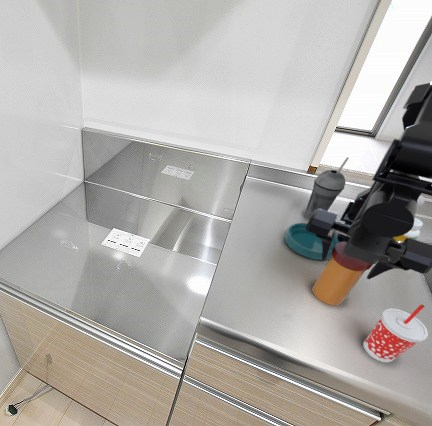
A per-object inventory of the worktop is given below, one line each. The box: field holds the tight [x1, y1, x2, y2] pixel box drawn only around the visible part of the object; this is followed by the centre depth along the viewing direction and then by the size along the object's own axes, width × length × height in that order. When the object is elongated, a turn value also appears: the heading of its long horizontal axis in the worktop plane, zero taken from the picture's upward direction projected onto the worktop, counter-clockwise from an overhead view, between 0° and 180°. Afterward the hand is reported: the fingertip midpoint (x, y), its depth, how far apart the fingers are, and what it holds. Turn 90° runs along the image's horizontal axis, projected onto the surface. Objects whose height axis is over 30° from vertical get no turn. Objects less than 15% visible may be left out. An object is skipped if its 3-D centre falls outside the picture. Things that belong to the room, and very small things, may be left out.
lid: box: [332, 242, 374, 272], centre depth 59 cm, size 7×7×2 cm
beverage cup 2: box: [362, 304, 429, 363], centre depth 52 cm, size 6×6×14 cm
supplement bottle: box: [393, 217, 424, 242], centre depth 75 cm, size 5×5×10 cm
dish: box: [284, 222, 339, 261], centre depth 78 cm, size 12×12×3 cm
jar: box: [311, 256, 366, 306], centre depth 63 cm, size 6×6×12 cm
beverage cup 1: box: [304, 157, 350, 220], centre depth 83 cm, size 7×7×20 cm
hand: (345, 268), depth 60 cm, fingers open, 7 cm apart
